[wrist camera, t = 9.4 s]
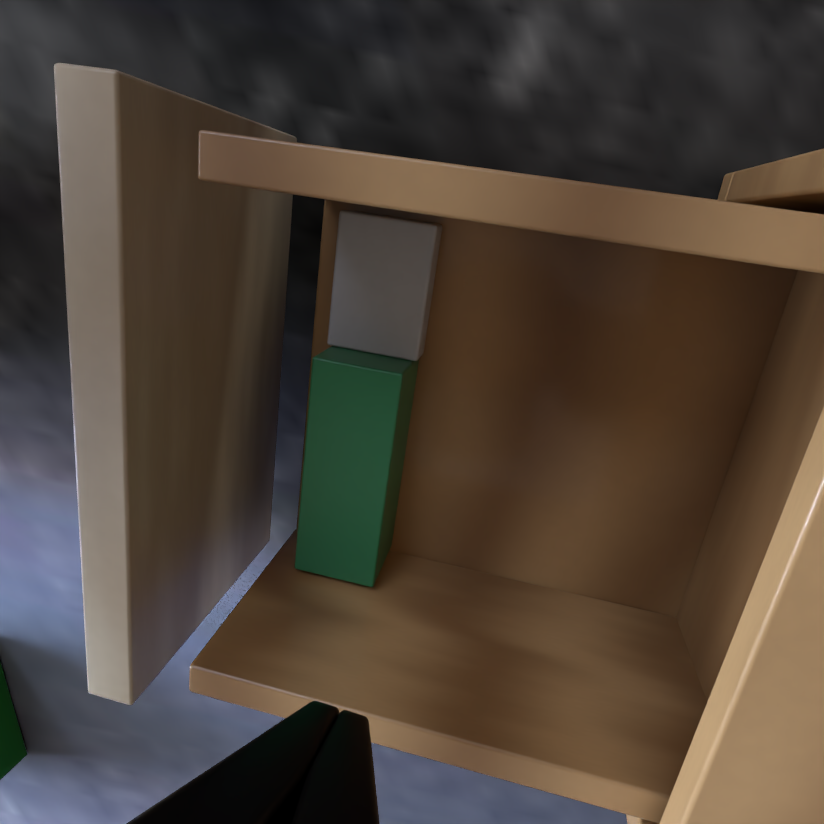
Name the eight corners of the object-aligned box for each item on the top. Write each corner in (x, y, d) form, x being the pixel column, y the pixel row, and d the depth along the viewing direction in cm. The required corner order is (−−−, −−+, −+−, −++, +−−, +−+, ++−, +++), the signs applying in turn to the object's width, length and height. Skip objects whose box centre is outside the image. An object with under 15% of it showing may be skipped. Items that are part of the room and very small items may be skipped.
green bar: (394, 546, 19) (376, 589, 17) (318, 528, 19) (290, 568, 17) (443, 224, 16) (428, 224, 13) (350, 210, 16) (320, 208, 14)
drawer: (208, 526, 21) (42, 681, 14) (220, 126, 17) (-13, 52, 10) (680, 638, 19) (771, 893, 12) (833, 209, 15) (1128, 194, 7)
